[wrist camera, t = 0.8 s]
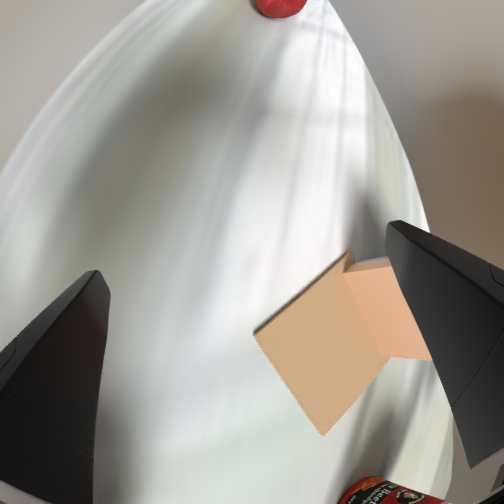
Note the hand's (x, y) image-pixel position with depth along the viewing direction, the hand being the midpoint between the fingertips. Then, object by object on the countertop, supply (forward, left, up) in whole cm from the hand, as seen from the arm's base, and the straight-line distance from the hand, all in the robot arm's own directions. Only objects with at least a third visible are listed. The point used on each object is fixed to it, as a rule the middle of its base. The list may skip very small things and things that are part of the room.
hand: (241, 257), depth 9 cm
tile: (-4, -19, -12) cm, 23 cm away
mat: (-6, -15, -13) cm, 21 cm away
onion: (+30, -11, -13) cm, 35 cm away
